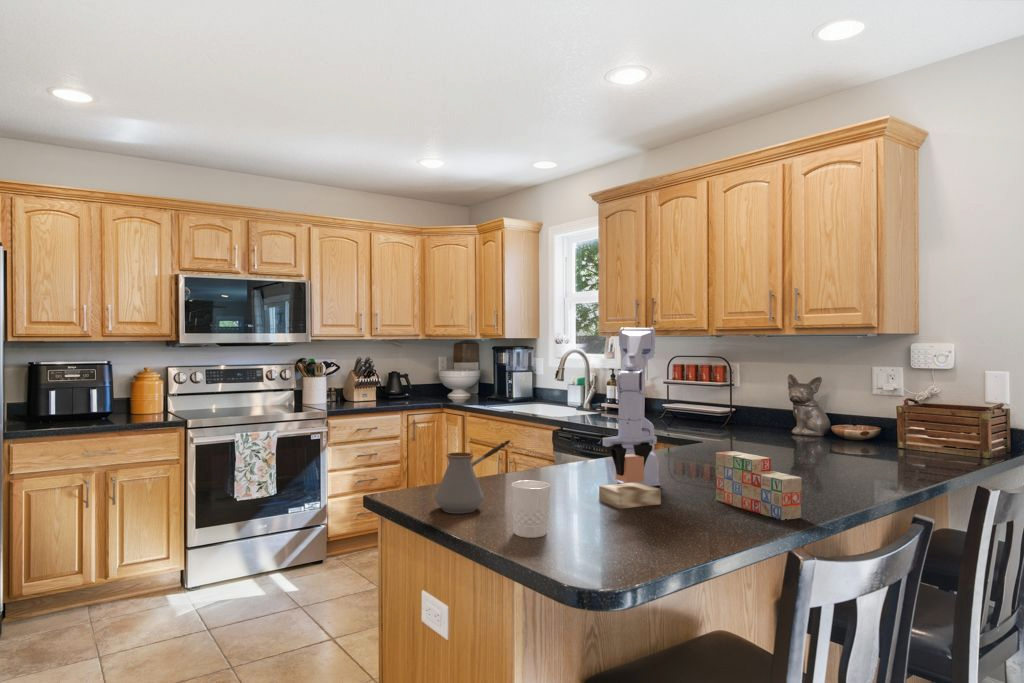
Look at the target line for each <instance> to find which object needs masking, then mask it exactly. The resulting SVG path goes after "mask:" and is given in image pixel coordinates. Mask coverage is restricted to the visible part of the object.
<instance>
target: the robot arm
mask: <svg viewBox="0 0 1024 683" xmlns="http://www.w3.org/2000/svg"><path fill="white" fill-rule="evenodd" d="M618 346H619V349H620V350H619V351H620V354H621V357H622V360H621V364H620V372H617V374H616V392H617V401H618V417H617V418H618V420H617V421H618V423H617V426H618V433H617V434H618V435H615V436H609V437H602V446H603V447H606V448H607V449H608V451H609V453H610V456H611V457H612V460H613V463H614V467H615V468H616V473H617V474H618V475H621V476H622V475H623V474H624V459H625V454H635V455H639V456H643V457H644V481H642V482H640V483H643V484H646V485H650V486H653V487H657V486H658V487H659V486H661V483H659V472H660V470H659V466H660V465H659V464H660V463H659V459H658V456H657V454H656V453H654V450H655V445H656V444H657V442H658V437H657V435H655V426H654V424H653V423H652V422H651V421H650V420H649V419H647V418H646V417H645V399H646V396H645V395H646V367H647V363H648V361H649V360H651V359H653V358H654V355H655V353H656V352H655V351H656V350H655V349H656V329H655V328H654V327H653V326H652V327H624V326H623V327H622V326H621V328H620V329H619V331H618ZM624 483H626V482H623V481H620V480H616V484H624ZM629 483H635V482H629Z"/></svg>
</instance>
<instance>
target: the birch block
mask: <svg viewBox="0 0 1024 683" xmlns="http://www.w3.org/2000/svg"><path fill="white" fill-rule="evenodd" d="M661 492H662V489H661V488H658V487H657V486H650V485H646V484H643V483H640V482H635V483H624V484H620V483H615V484H605V485H598V500H599V502H602V503H604V504H607V505H610V506H612V507H615V508H617V509H619V510H621V509H628V508H638V507H647V506H653V505H654V506H655V505H661V503H662V498H661V497H662V496H661V495H662V494H661Z"/></svg>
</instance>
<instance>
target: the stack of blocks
mask: <svg viewBox="0 0 1024 683" xmlns="http://www.w3.org/2000/svg"><path fill="white" fill-rule="evenodd" d="M771 460H772V459H771V457H767V456H761V455H756V454H751V453H745V452H741V451H735V450H734V451H732V450H731V451H730V450H729V451H720V452H715V500H716V501H718V502H720V503H724V504H727V505H730V506H734V507H736V508H740V509H743V510H747V511H749V512H754V513H756V512H757V514H759V513H760V514H761V515H763V516H767V517H769V516H770V518H772V517H773V518H772V519H775V518H776V520H779V519H780V520H779V521H786V520H785V519H787V520H794V519H801V516H802V506H801V505H802V481H803V480H802V477H800V476H797V475H796V476H795V475H791V474H787V473H782V472H779V471H773V470H772V468H771V467H772V465H771Z"/></svg>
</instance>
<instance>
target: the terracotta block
mask: <svg viewBox="0 0 1024 683" xmlns="http://www.w3.org/2000/svg"><path fill="white" fill-rule="evenodd" d="M614 470H615V471H614V472H615V479H614V480H616V481H619V480H620V481H623V482H626V483H629V482H642V481H644V457H643V456H639V455H635V454H625V459H624V474H623V475H622V476H621V475H618V474H617V473H616V468H615V469H614Z"/></svg>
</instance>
